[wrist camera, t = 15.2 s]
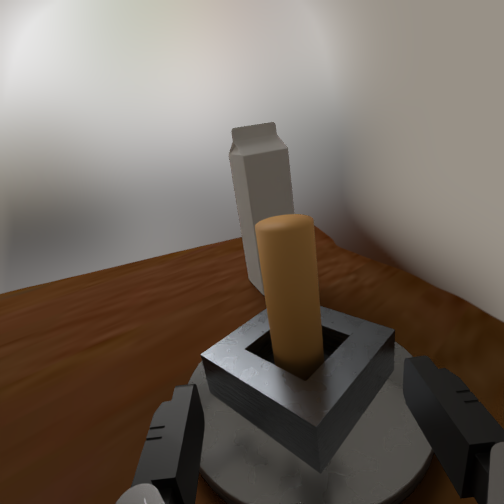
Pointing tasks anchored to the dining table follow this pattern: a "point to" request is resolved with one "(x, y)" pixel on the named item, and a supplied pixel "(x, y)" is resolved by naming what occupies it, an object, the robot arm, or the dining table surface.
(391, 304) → the dining table surface
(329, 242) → the dining table surface
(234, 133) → the milk
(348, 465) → the square frame on disc
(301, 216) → the pin
